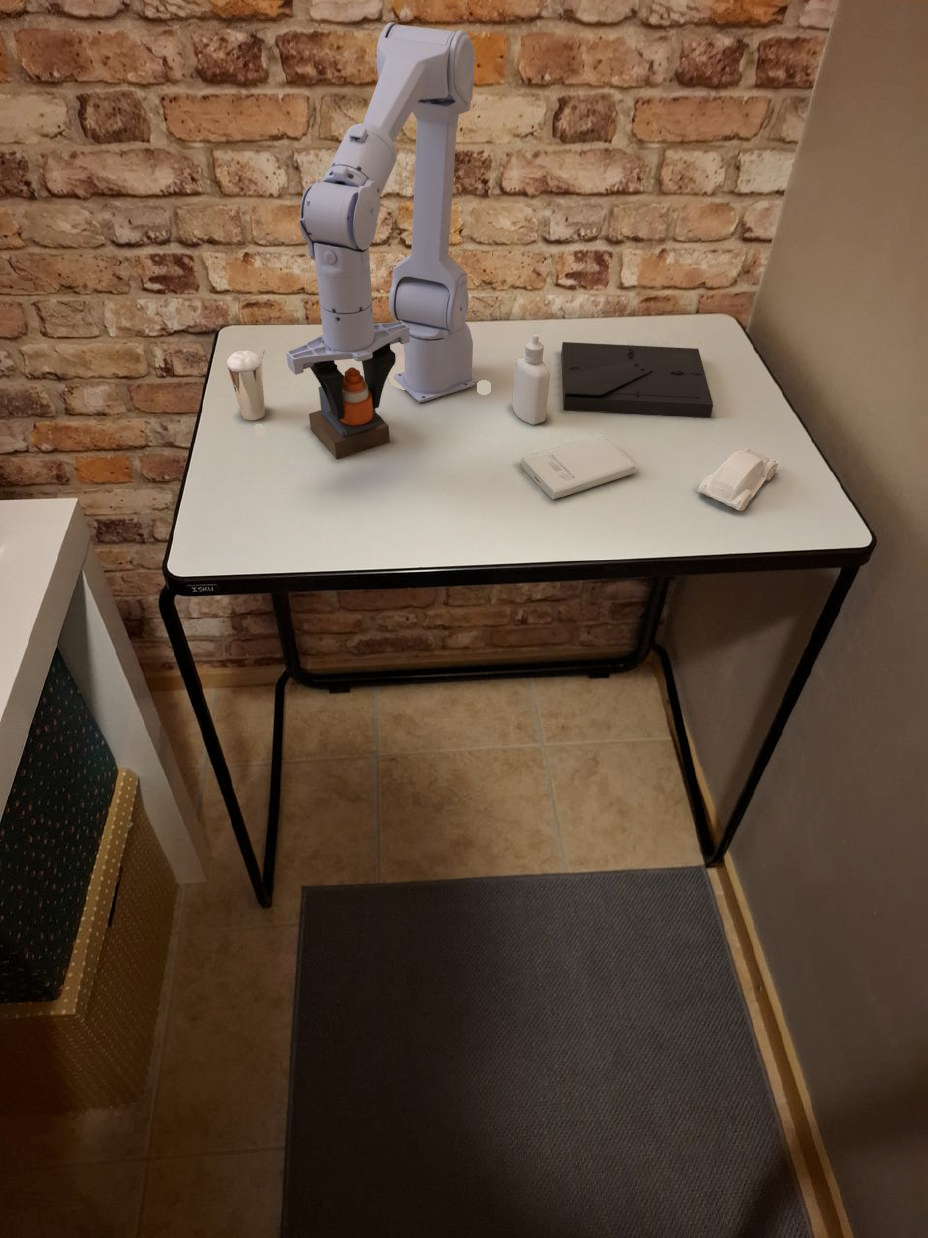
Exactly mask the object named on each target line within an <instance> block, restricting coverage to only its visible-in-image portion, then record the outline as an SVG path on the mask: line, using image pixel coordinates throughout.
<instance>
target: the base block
mask: <svg viewBox="0 0 928 1238" xmlns="http://www.w3.org/2000/svg"><path fill="white" fill-rule="evenodd" d="M308 418H309V426H310V430H311V431H312V433H313V434H314V435H315V436H316V438H317V439H319V441H320V442H321V443H322V444H323V446H324V447H325V448H326V449H327V450H328V451H329V452H330V454H331V455H332V456H333V457H334V458H335V459H336V460H338V459H340V458H343V457H347V456H351V455H353V454H357V453H359V452H362V451H365V450H369V449H372V448H374V447H377V446H380V445H383V444H386V443H389V442H391V440H390V439H391V437H390V426H389V424H388V423H387V422H386V421H385V420H384V424H382V425H379V426H376V427H373V428H370V429H367V430H364V431H360V432H357V433H354V434H351V435H348V436H344V437H342V435H341V434H340V433H339V432H338V431H337V430H336V429H335V428H334V426H333V425H332V424H331V423H330V422H329V421H328V420H327V419H326V417H325V416H324V415H323V414H322V412H321V409H320V410H316V411H313V412H310V413H308Z"/></svg>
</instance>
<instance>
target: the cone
mask: <svg viewBox="0 0 928 1238" xmlns="http://www.w3.org/2000/svg"><path fill="white" fill-rule="evenodd" d="M343 375H344V379H343V387H342V400H343V408H344V419H340V420H338V419H337V418H336V417H335V416H334V415H333V414H332V413H331V411H329V412H328V413H329V416H330V418H331V419H332V420H333V421H334V422H335V423H336V424H337V425H338V426H339V427H340V429H341V430H342V431H343V432H344V433H345V434H346V435H347V436H348V435H351V434H354V433H357V432H360V431H364V430H367V429H370V428H373V427H376V426H379V425H382V424H384V421H385V420H384V418H382V416H380V415H379V414H378V412H377V411H376V412H375V411H374V410H373V404H372V394H371V392H370V391H369V390H368V385H367V383H366V382H364V375H362V374H361V371H360V370H359V369H356V367H353V366H352V367H348V369H346V370H345V371H344V374H343Z"/></svg>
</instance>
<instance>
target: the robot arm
mask: <svg viewBox="0 0 928 1238" xmlns="http://www.w3.org/2000/svg"><path fill="white" fill-rule="evenodd" d="M475 67H476V54H475V50H474V45H473V41H472V40H471V38H470V35H469V34H468V32H467V31H466V30H463V29H459V30H457V31H455V30H447V29H439V28H430V27H422V26H421V27H420V26H414V25H413V26H412V25H405V24H398V23H397V22H394V21H393V22H391V21H390V22H388V23H387V24H386V25H385V26H384V27H383V29H382V31H381V33H380V35H379V37H378V39H377V46H376V68H377V69H376V71H377V77H378V79H377V80H378V81H377V83H376V85H375V89H374V91H373V94H372V96H371V99H370V102H369V105H368V109H367V111H366V112H365V115H364V119H363V121H362V123H355V124H353V125H351V126H350V127H349V128H348V129H347V131H346V132H345V135H343V138H342V141H341V142H340V144H339V146H338V149H337V150H336V152H335V154H334V156H333V158H332V160H331V163H330V164H329V167H328V169H327V170H326V173H325V175H324V177H323V179H322V180H318V181H317V182H315V181H314V183H313V184H312V185H309V186H307V188H306V189H305V190H304V192H303V195H302V197H301V200H300V201H301V202H300V207H299V219H298V225H299V229H300V233H301V235H302V237H303V239H304V240H305V242H306V244H307V249H308V256H309V257H310V259H311V260H312V261H314V265H315V273H316V283H317V292H318V300H319V301H318V303H319V310H320V319H321V320H320V321H321V329H322V334H321V335H319V336H317V337H315V338H313V339H311V340H309V341H308V342H306V343H304V344H302V345H300V346H298V347H296V348H293V349H291V350H290V349H289V350H287V351H286V352H285V353H286V360H287V367H288V368H289V370H290V371H291V372H292V373H293V374H294V375H295V376H296V375H297V376H298V375H301V374H303V373H305V372H304V371H305V369H310V371H312V373H313V374H314V376H315V378H316V379H317V381H318V383H319V385H320V387H322V389H323V391H324V393H325V395H326V397H327V400H328V403H329V406H330V409H331V413H332V414H333V415H334V416H335V417H336V418H337V419H338V420H340V419H344V408H343V400H342V387H343V379H344V375H345V374H343V373H342V372H341V371H340V370H339V369H338V365H337V364H336V362H335V361H343V360H354V361H356V362H361V365H362V370H363V371H362V372H363V377H364V382H366V383H367V385H368V390H369V391H370V392H371V394H372V404H373V408H374V409H375V410H377V409H378V408H380V403H381V398H382V394H383V390H384V388H385V387H384V386H385V384H386V381H387V379H388V376H389V374H390V372H391V370H392V368H393V367H394V366H395V364H396V362H397V361H396V360H397V357H396V353H395V352H394V351H393V350H392V349H391V345H394V344H401V345H403V356H404V357H403V358H404V371H403V372H400V373H396V374H394V375H393V380H395V381H396V383H397V384H399V386H401V387H402V388H403V389H404V390H405V391H406V392H407V393H408V394H409V395H410V396H412V398H413V399H415V400H416V402H418V403H425V402H428V401H432V400H434V399H437V398H440V397H444V396H446V395H449V394H450V395H451V394H454V393H456V392H460V391H463V390H465V389H469V388H473V387H475V381H473V357H474V355H473V352H474V341H473V336H472V332H471V330H470V328H469V325H468V324H467V323H466V319H467V315H468V311H469V301H470V300H469V292H468V272H466V270H465V269H464V267H462V266H461V265H460V264H459V263H458V262H457V261H456V260H455V259H454V258H453V257H452V256H451V255H450V254H449V250H450V237H451V235H450V234H451V221H452V220H451V219H452V207H453V190H454V174H455V161H456V160H455V158H456V146H457V144H456V143H457V131H458V122H459V115H463V114H464V113H468V112H469V111H470V110H471V107H472V101H473V92H474V82H475V81H474V80H475ZM411 114H413V115H414V117H415V119H416V132H415V133H416V134H415V135H416V136H415V139H416V140H415V157H414V159H415V160H414V180H413V181H414V182H413V183H414V184H413V210H412V228H411V229H412V232H411V254H409V255H408V256H406V257H404V258H403V259H401V260H400V261H399V262H398V263H397V264H396V265H395V267H394V268H393V271H392V281H391V286H390V289H389V295H388V309H389V313H390V315H391V317H392V319H393V321H392V322H384V323H374V307H373V292H372V291H373V290H372V276H371V261H370V260H371V259H370V246H371V245H372V242H373V241H374V239H375V237H376V232H377V227H378V220H379V219H378V218H379V215H380V214H379V213H380V212H381V207H382V204H381V199H380V197H381V196H382V193H383V191H384V189H385V187H386V184H387V182H388V180H389V178H390V176H391V174H392V172H393V169H394V167H395V165H396V163H397V158H398V157H397V156H398V155H397V150H396V147H395V145H394V142H395V140H396V139H397V137H398V136H399V134H400V132H401V131H402V129H403V127H404V126H405V124H406V122H407V121H408V119H409V117H410V116H411Z"/></svg>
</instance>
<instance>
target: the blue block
mask: <svg viewBox="0 0 928 1238" xmlns="http://www.w3.org/2000/svg"><path fill="white" fill-rule="evenodd" d="M318 394H319V395H318V396H319V402H320V403H319V404H320V410H321V412H322V414H323V415H324V416H325V417H326V419H327V420H328V421H329V422H330V423H331V424H332V425H333V426H334V428H335V429H336V430H337V431H338V432H339V433H340V434H341V435H342V437H344V436H347V435H346V434H345V433H344V432H343V431H342V430H341V429H340V427H339V426H338V425H337V424H336V423H335V422H334V421H333V420H332V419H331V418H330V416H329V413H328V412H329V411H331V409H330V406H329V403H328V400H327V397H326V395H325V393H324V391H323V389H322V387H321V386H318ZM373 410H374V411H375V412H376V413H377V411H376V410H377V409H374V408H373Z"/></svg>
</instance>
